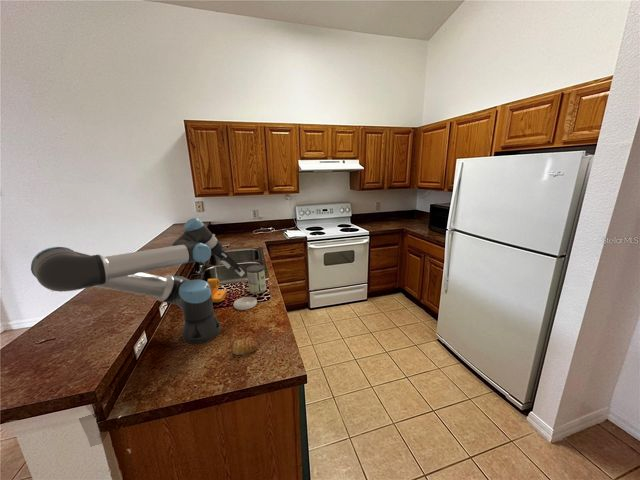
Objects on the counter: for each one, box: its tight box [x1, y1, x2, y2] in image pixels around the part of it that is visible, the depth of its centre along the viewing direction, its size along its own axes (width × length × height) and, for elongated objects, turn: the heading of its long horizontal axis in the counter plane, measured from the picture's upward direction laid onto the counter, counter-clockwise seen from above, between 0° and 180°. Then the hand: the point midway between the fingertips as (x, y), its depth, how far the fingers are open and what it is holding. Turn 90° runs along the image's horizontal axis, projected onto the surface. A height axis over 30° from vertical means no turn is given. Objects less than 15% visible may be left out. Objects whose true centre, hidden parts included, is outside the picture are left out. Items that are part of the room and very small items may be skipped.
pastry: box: [232, 338, 259, 356], centre depth 103 cm, size 9×7×4 cm
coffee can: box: [246, 264, 267, 295], centre depth 152 cm, size 10×10×14 cm
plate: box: [233, 296, 258, 311], centre depth 137 cm, size 12×12×1 cm
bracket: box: [206, 278, 228, 303], centre depth 143 cm, size 11×7×12 cm, turn 2°
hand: (236, 270), depth 140 cm, fingers open, 13 cm apart
